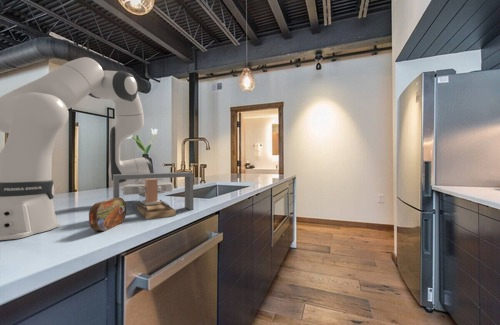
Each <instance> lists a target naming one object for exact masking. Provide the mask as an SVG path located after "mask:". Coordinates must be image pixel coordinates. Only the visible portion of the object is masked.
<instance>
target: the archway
mask: <svg viewBox="0 0 500 325" xmlns="http://www.w3.org/2000/svg"><path fill="white" fill-rule="evenodd" d="M146 178H153V179H166V178H167V179H168V178H184V208H185V209H187V210H189V211H194V173H193V172H190V171H189V172H185V171H184V172H183V171H182V172H181V171H180V172H156V173H155V172H154V173H146V174H113V181H112V196H113V198H120V183H119V180H122V179H133V180H135V179H146Z"/></svg>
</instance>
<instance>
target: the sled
mask: <svg viewBox="0 0 500 325" xmlns="http://www.w3.org/2000/svg"><path fill="white" fill-rule="evenodd" d="M157 179H158V178H153V179H145V188H146V189H147V190H146V191H147V192H146V193H145V197H144V198H145V199H142V201H141V202H142V203H143V204H144V205H153V204H161V201H160V200H161V199H159V198H158V194H157Z"/></svg>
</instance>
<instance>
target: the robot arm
mask: <svg viewBox="0 0 500 325" xmlns="http://www.w3.org/2000/svg"><path fill="white" fill-rule="evenodd" d="M138 92H139V85H138V81H137V79H136V78H135V77H134V75H133V74H131V73H130V72H128V71H122V70H119V71H118V70H117V71H116V70H103V68H102V66H101V65H100V63H99V62H97V60H95V59H93V58H91V57H88V56H84V57H79V58H75V59H73V60H70V61H68V62H66V63H64V64H61V65H60V66H58V67H57V68H55V69H53V70H51V71H50V72H48V73H47V74H45V75H43V76H41V77H39V78H37V79H35V80H32V81H31V82H28V83H26V84H24V85H22V86H19V87H17V88H16V89H14V90H11V91H9V92H8V93H5V94H3V95H2V96H1V95H0V132H1V133H2V132H3V133H5V134H8V136H7V139H6V142H5V144H4V146H3V147H2V149H0V241H4V240H5V241H6V240H8V241H9V240H15V239H16V240H17V239H23V238H26V237H30V236H33V235H35V234H39V233H44V232H47V231H50V230H53V229H56V228H58V227H59V226H60V223H59V221H58V219H57V218H58V217H57V215H56V211H55V205H54V200H53V199H54V197H55V184H54V180H53V179H52V176H53V175H52V174H53V173H52V172H53V171H52V170H53V168H52V165H53V152H54V148H55V144H56V141H57V138H58V135H59V133H60V132H61V130H62V128H63V127H64V126H65V125H66V124H67V122H68V120H69V111H68V110H69V109H72V108H73V107H75V106H76V105H77V104H78V103H80V102H81V101H82V100H83V99H85V98H86V97H87V96H89V97H91V98H94V99H105V100H112V101H113V103H114V105H115V106H114V108H115V114H116V122H115V124H114V126H112V127H111V128H110V132H109V165H108V177H109V178H110V180H111V181H112V182H113V174H146V173H155V171H154V167H153V164H152V162H151V161H150V160H149V159H148V158H147V157H136V158H131V159H127V160H121V145H122V143H123V141H125V140H126V139H128V138H129V137H131V136H134V135H137V133H139V132H140V131H142V129H143V128H144V126H145V115H144V109H143V104H142V101H141V98H140V95H139V93H138ZM146 179H154V178H146ZM156 179H157V195H159V194H165V193H166V192H167V193H168V192H169V193H171V192H173V190H174V184H173V182H170V181H168V180H166V178H156ZM132 180H133V181H132ZM127 181H132V183H131V184H124V185H122V187H120V190H121V191H122V195H124V196H127V195H139V196H140V197H143V198H145V193H146V192H147V191H146V190H147V189H146V188H145V179H122V180H119V184H123V183H125V182H127Z"/></svg>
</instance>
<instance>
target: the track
mask: <svg viewBox="0 0 500 325" xmlns="http://www.w3.org/2000/svg"><path fill="white" fill-rule="evenodd" d="M159 200H160V201H161V204H153V205H144V204H143V203H142V201H138V203H137V204H136V209H137V211H139V213H140V215H142V217H143V218H144V219H145V220H151V219H160V218H168V217H174V216H176V215H177V212H176V209H174V208H173V207H172V206H170V205H169V204H168V203H167V202H165V201H163V200H162V199H159Z"/></svg>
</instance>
